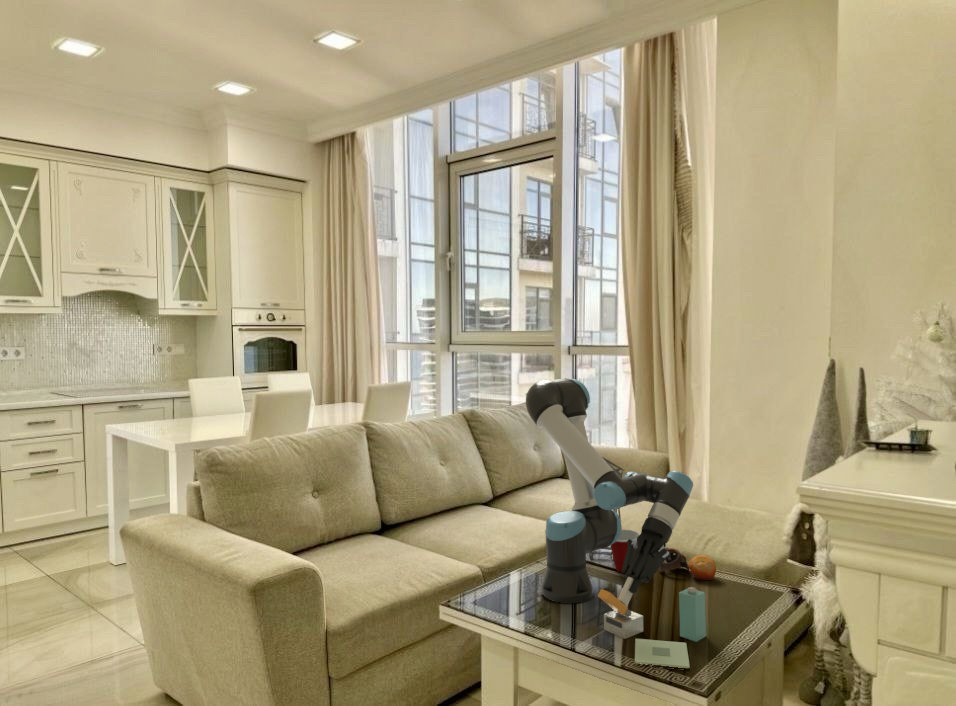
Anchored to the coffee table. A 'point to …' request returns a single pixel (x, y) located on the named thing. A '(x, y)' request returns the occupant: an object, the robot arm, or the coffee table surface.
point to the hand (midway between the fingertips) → (622, 602)
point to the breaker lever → (614, 602)
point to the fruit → (702, 567)
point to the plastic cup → (622, 547)
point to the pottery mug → (674, 561)
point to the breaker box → (623, 624)
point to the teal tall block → (692, 614)
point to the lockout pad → (661, 653)
